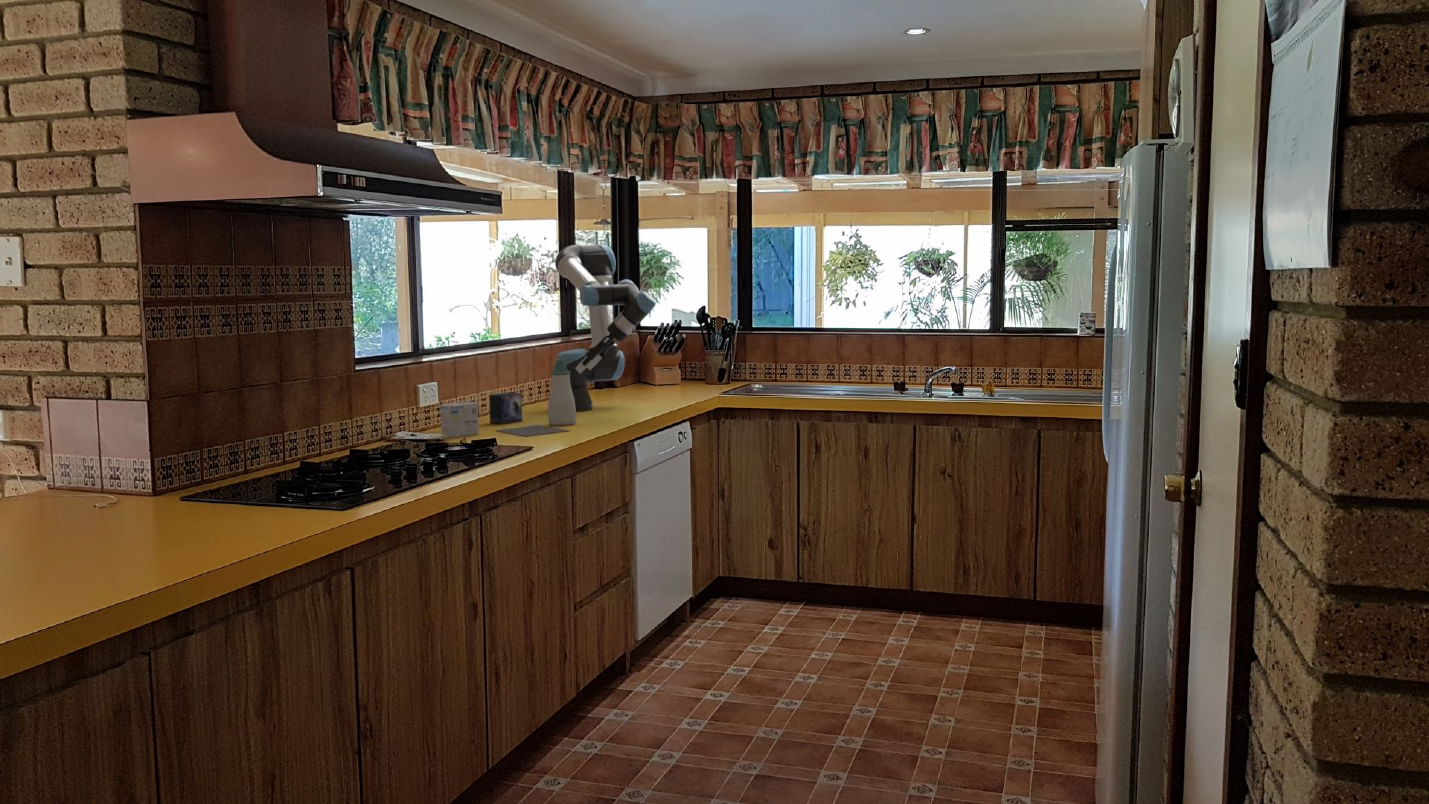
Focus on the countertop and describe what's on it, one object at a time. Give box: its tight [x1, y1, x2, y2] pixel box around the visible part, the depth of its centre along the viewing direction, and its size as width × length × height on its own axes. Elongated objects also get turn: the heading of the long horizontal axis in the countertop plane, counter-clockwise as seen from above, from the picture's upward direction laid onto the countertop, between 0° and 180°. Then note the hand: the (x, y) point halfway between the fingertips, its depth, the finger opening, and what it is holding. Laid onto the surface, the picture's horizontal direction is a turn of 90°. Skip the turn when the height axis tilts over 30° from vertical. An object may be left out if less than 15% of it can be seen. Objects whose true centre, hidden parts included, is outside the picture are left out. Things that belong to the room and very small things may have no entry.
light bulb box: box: [439, 401, 480, 439], centre depth 356 cm, size 11×7×11 cm, turn 134°
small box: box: [488, 391, 523, 425], centre depth 386 cm, size 11×6×10 cm, turn 143°
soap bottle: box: [547, 359, 577, 427], centre depth 378 cm, size 10×10×23 cm
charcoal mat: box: [494, 424, 570, 438], centre depth 363 cm, size 17×20×1 cm
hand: (582, 369), depth 394 cm, fingers open, 13 cm apart
